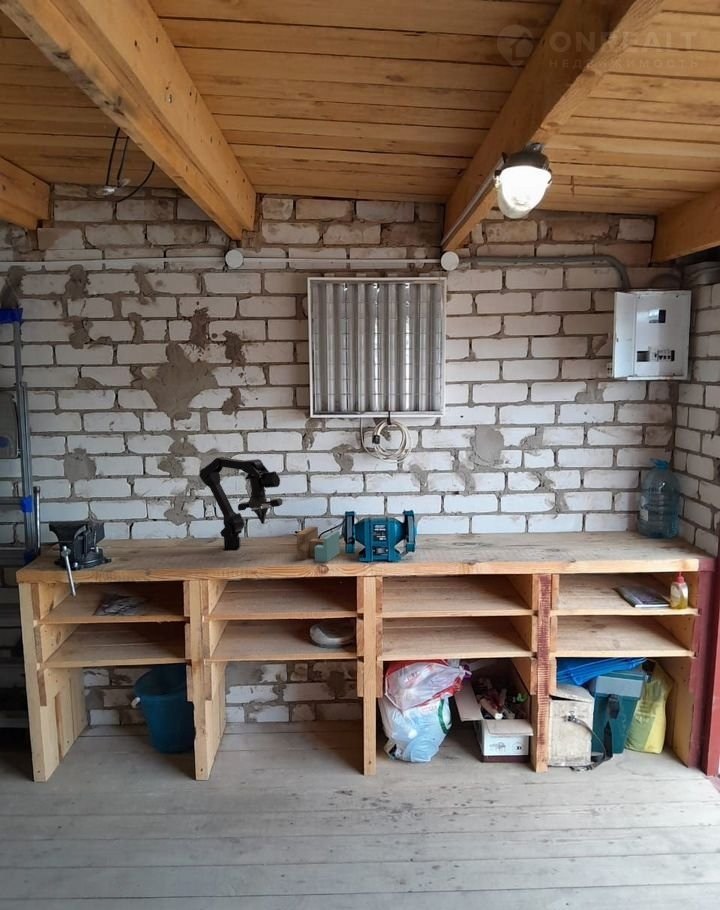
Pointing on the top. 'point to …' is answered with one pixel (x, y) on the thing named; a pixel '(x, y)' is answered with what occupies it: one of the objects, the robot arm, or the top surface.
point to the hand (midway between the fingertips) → (263, 523)
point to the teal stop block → (328, 548)
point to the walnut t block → (307, 542)
